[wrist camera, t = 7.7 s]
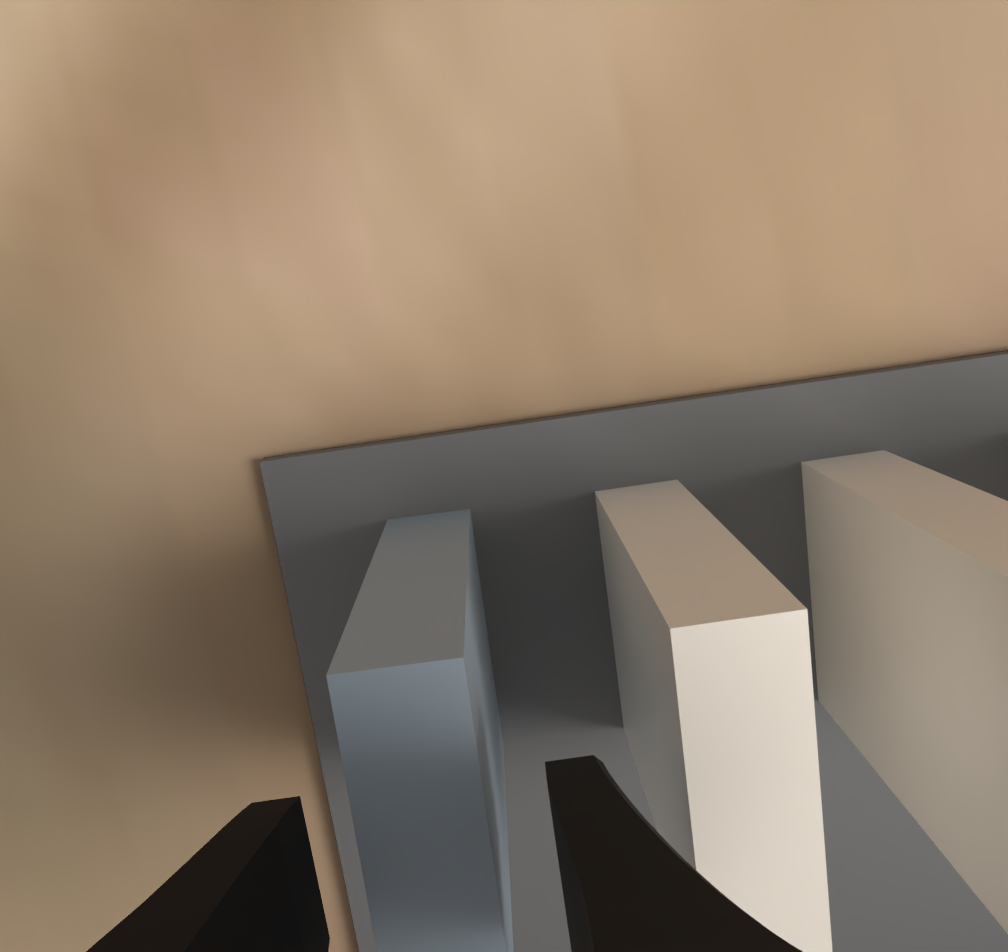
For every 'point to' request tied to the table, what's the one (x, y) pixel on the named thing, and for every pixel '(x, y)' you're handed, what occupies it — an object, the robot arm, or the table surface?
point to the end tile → (425, 743)
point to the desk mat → (585, 610)
